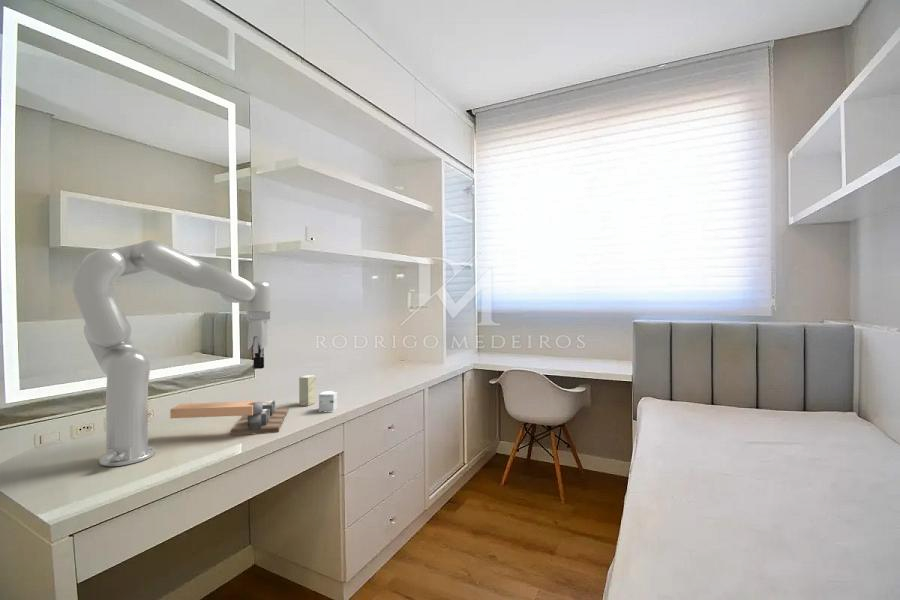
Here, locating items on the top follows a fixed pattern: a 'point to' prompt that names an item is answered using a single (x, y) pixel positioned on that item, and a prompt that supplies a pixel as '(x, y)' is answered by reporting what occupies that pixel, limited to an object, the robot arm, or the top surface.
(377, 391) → the top surface
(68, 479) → the top surface
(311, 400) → the skincare box
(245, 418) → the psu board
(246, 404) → the swing arm
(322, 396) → the skincare box
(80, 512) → the top surface
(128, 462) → the robot arm
